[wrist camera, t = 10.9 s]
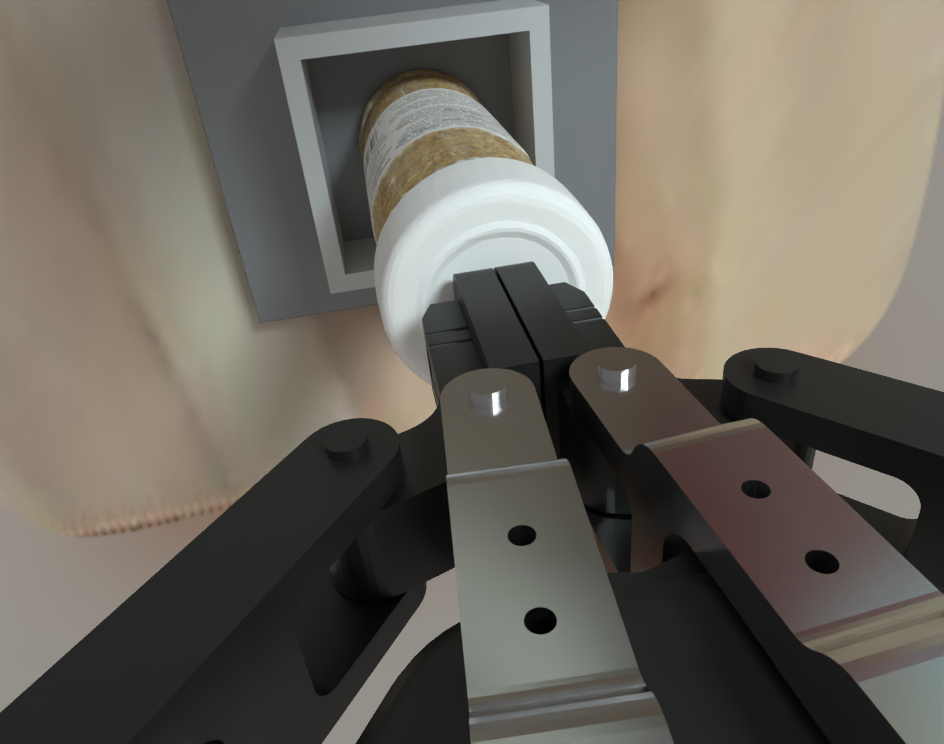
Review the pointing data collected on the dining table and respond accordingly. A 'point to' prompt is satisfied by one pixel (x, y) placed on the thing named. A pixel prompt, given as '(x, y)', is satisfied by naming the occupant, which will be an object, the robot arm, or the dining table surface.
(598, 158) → the bottle stand
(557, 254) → the sprinkles bottle
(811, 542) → the robot arm
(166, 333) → the dining table surface
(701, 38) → the dining table surface
